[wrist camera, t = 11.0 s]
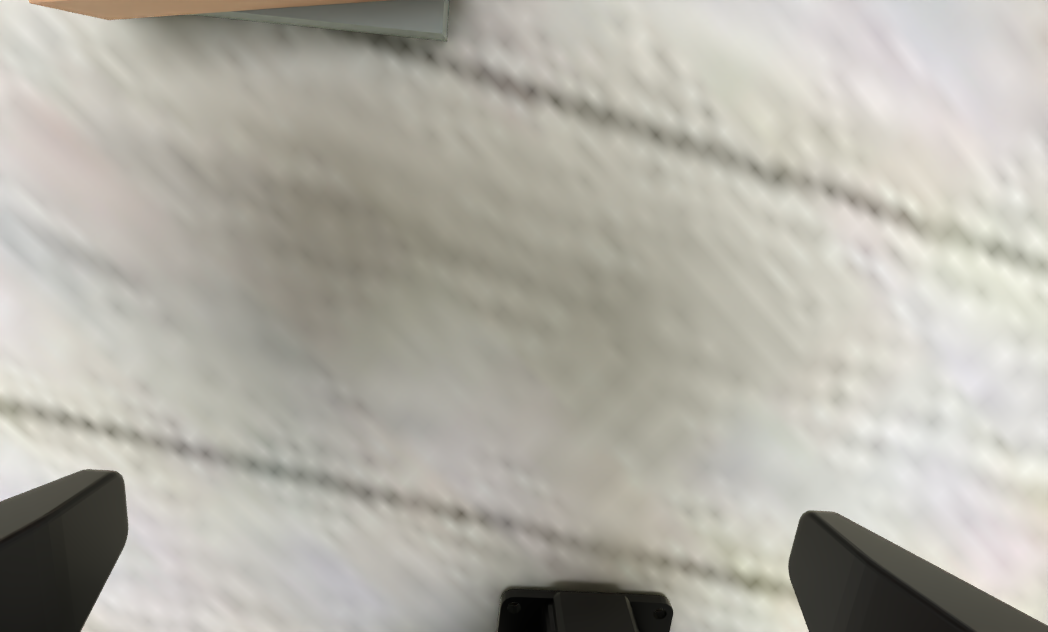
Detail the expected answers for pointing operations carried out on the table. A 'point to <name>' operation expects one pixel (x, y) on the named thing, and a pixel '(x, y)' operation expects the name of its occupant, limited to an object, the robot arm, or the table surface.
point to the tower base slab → (360, 17)
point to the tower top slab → (173, 6)
